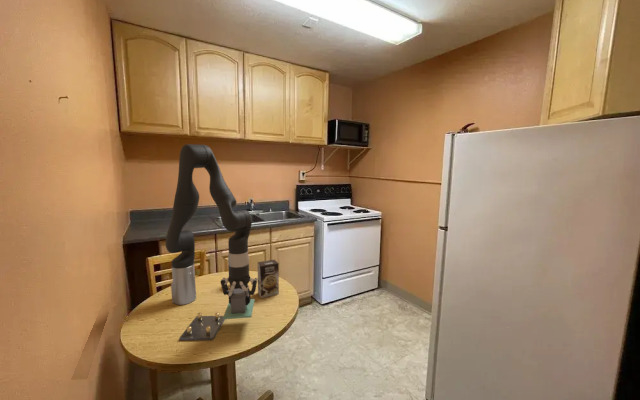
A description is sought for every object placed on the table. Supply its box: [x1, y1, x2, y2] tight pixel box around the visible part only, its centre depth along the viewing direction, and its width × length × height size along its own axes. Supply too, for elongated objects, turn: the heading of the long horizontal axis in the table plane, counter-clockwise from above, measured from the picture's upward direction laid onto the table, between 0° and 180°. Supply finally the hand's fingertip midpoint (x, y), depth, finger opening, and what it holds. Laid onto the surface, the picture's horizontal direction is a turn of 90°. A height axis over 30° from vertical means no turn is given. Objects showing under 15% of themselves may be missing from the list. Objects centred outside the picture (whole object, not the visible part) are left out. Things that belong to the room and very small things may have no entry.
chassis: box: [179, 312, 226, 341], centre depth 102 cm, size 12×14×4 cm
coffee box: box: [257, 259, 280, 299], centre depth 130 cm, size 9×6×16 cm
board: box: [223, 288, 256, 320], centre depth 103 cm, size 10×12×7 cm
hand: (239, 303), depth 103 cm, fingers closed on board, 5 cm apart
